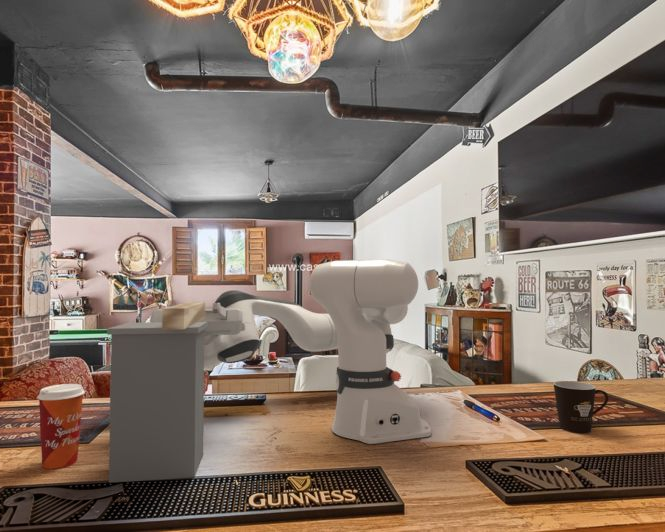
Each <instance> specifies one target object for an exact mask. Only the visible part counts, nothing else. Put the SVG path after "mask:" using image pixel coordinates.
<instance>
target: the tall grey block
mask: <svg viewBox="0 0 665 532" xmlns="http://www.w3.org/2000/svg"><path fill="white" fill-rule="evenodd" d="M206 327H207V322H197V323H195V324H193V325H191V326H189V327H187V328H186V329H172V330H162V322H150V321H149V322H126V323H123V324H119V325H115V326H112V327H108V328H106V329H107V331H106V334H107V336H108V335H111V336H110V337H111V338H110V339H111V340H110V344H111V345H110V347H111V348H110V378H111V390H110V389H109V390H110V392H109V451H108V452H109V454H108V456H109V457H108V458H109V459H108V461H109V463H108V464H109V466H108V483H123V482H125V483H126V482H128V483H129V482H140V481H141V482H142V481H143V482H144V481H158V480H175V479H176V480H177V479H188V478H189V479H191V478H195V477H196V474H197V472H198V469H199V467H200V464H201V462H202V460H203V459H202V458H203V457H204V416H205V415H204V413H205V412H204V410H205V409H204V406H205V405H204V403H205V400H204V399H205V397H204V395H205V393H204V392H205V386H204V385H205V367H204V329H205V328H206Z"/></svg>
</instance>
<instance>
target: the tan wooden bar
mask: <svg viewBox="0 0 665 532" xmlns="http://www.w3.org/2000/svg"><path fill="white" fill-rule="evenodd" d="M205 309H206V302H205V301H203V302H202V301H201V302H200V301H194V302H193V301H192V302H191V301H188V302H183V303H180V304H175V306H171V307H162V309H161V310H162V330H172V329H186V328H187V327H189V326H191V325H193V324H195V323H197V322H199V321H201V320H202V319H204V318H205Z"/></svg>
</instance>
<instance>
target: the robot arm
mask: <svg viewBox="0 0 665 532" xmlns="http://www.w3.org/2000/svg"><path fill="white" fill-rule="evenodd" d="M308 283H309V285H308V287H309V292H310V294H311V296H312V298H313V299H314V301H316V302H317V303H318V304H319V306H321V307H322V308H323V309H324V310H325V312H326V313H317V312H314V311H313V312H312V311H311V310H308V309H306V308H304V307H303V306H301V305H300V304H299V303H296V302H294V301H289V300H283V299H278V298H271V297H266V296H265V297H264V296H259V295H253V294H250V293H248V292H244V291H242V290H241V291H240V290H234V289H233V290H226V291H225V292H222V293H221V294H220V295H219V296H218V297H217V298H216V300H215V301H214V302H213V303H212V308H205V318H204V319H202V320H201V321H199V322H207V327H206V328H205V329H204V369H205V368H206V369H212V368H215V367H217V366H219V365H220V364H221V363H224V364H225V363H226V364H233V363H234V364H235V363H240V362H243V361H245V360H248V359H250V358H251V357H252V356H253V355H254V354H255V353H256V352H257V350H258V349H259V348H260V345H261V339H260V336H259V335H260V334H259V331H258V327H257V324H256V320H255V317H254V316H259V317H260V316H261V317H265V318H266V317H267V318H273V319H275V320H277V321H278V322H279V323H280V324H282V326H283V327H284V328H285V330H286V331H287V333H288V334H289V336H290V337H291V339H292V341H293V342H294V343H295V345H297V346H298V347H299V348H300V349H301V350H304V351H306V352H311V353H312V352H315V353H317V352H325V351H332V350H337V352H338V353H337V354H338V355H337V356H338V358H337V359H338V360H337V361H338V366H337V367H336V373H335V389H336V392H337V395H336V397H337V399H336V405H335V406H336V407H335V412H334V418H333V420H332V421H333V422H332V425H331V431H332V433H334V434H336V435H337V436H339V437H343V438H347V439H351V440H356V441H360V442H362V443H365V444H368V445H374V444H383V443H390V442H397V441H404V440H412V439H413V440H414V439H420V438H427V437H430V436H431V435H432V427H431V426H430V423H428V422H427V421H426V420H425V419H423V418H422V417H421V411H420V408H419V405H418V403H417V401H416V400H415V399H414V398H413V397H412V396H411V395H409V394H408V393H407V392H406V391H405V390H403V389H402V388H400V387H399V386H398V385H397V384H395V382H400V381H401V379H402V374H401V373H400V372H398V371H396V370H393V369H392V368H390V367H388V366H387V354H388V353H389V352H391V351H392V350H393V348H394V345H395V342H394V335H393V334H392V329H391V328H392V327H391V325H396V324H399V323H401V322H402V321H403V320H405V317H406V316H407V314H408V311H409V307H408V306H409V305H410V304H411V303H412V301H413V300H415V297H416V296H417V294H418V290H419V279H418V275H417V272H416V270H415V269H414V268H413V266H412V265H411V264H410V263H408V262H404V261H401V260H400V261H399V260H392V259H353V260H352V259H351V260H349V259H348V260H332V261H327V262H323V263H320V264H317V265H316V266H315V267H314V268H313V270H312V272H311V273H310V277H309V281H308ZM175 305H176V303H167V305H166V306H167V307H171V306H175ZM167 307H166V308H167ZM149 322H162V309H154V310H153V311H151V314H150V319H149Z"/></svg>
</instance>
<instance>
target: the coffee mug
mask: <svg viewBox="0 0 665 532" xmlns="http://www.w3.org/2000/svg"><path fill="white" fill-rule="evenodd" d="M553 389H554V390H553V391H554V397H555V403H556V410H557V418H558V424H559V428H560V429H561V430H563V431H566V432H569V433H573V434H589V433H591V432H592V425H593V416H595V415H596V414H597V413H598V412H600V411H601V410H603V408H605V406H606V405H607V404H608V402H609V396H608V395H609V394H608V393H607V392H606V391H605V390H602V389H597V387H596V385H593V384H590V383H587V382H581V381H573V380H557V381H554V382H553ZM598 393H601V394H603V395H604V397H605V398H604V401H603V403H602V404H601V405H600V406H598V408H596V409H595V410H594V408H595V400H596V399H595V398H596V394H598Z"/></svg>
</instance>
